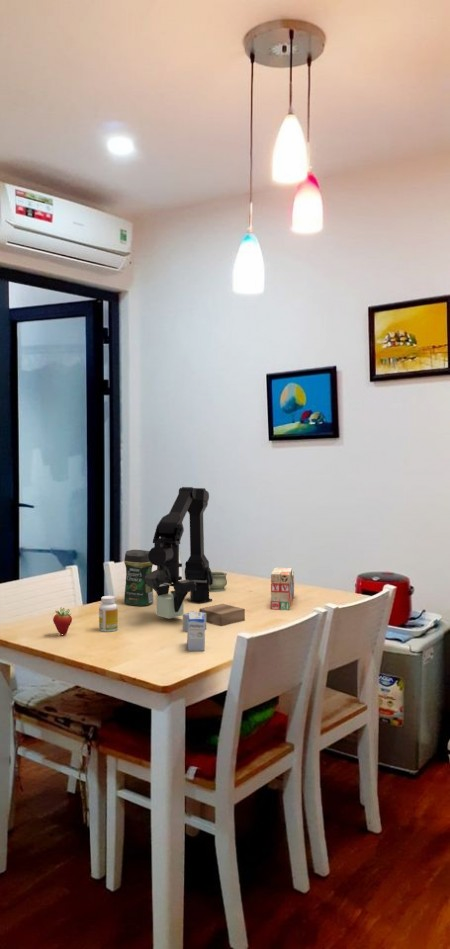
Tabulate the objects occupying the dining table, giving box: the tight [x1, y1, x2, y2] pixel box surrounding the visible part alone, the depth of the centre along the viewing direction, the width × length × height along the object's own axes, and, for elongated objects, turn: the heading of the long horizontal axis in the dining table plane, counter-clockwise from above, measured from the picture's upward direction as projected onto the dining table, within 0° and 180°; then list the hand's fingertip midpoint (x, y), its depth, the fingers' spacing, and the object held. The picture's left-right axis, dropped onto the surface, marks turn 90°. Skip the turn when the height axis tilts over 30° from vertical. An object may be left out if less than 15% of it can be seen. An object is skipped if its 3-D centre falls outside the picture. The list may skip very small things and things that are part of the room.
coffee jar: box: [124, 549, 154, 607], centre depth 242 cm, size 10×8×19 cm
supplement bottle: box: [98, 595, 119, 633], centre depth 208 cm, size 5×5×10 cm
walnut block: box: [198, 603, 246, 627], centre depth 220 cm, size 10×10×4 cm
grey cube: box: [182, 610, 207, 633], centre depth 208 cm, size 5×5×5 cm
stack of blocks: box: [270, 566, 295, 611], centre depth 244 cm, size 21×6×12 cm, turn 170°
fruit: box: [52, 607, 73, 636], centre depth 202 cm, size 5×5×8 cm
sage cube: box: [155, 592, 185, 619], centre depth 221 cm, size 6×6×6 cm
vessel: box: [209, 571, 228, 593], centre depth 266 cm, size 12×9×6 cm
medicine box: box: [186, 611, 206, 652], centre depth 191 cm, size 8×4×9 cm, turn 5°
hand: (170, 610), depth 221 cm, fingers closed on sage cube, 6 cm apart
